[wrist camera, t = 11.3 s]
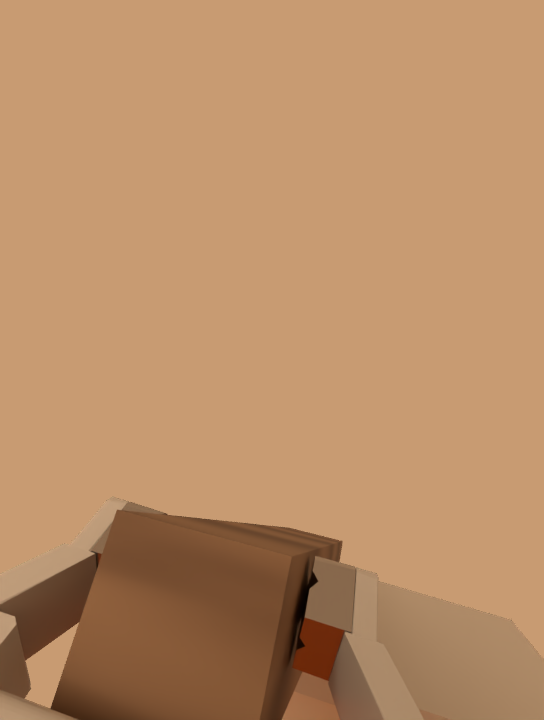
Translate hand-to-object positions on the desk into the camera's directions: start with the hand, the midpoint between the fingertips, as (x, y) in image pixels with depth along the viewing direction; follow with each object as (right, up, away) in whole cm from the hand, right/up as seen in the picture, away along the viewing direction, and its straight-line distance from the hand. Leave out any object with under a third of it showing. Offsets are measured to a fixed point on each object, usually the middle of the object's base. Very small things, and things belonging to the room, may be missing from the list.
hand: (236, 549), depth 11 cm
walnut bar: (+1, -6, +6) cm, 8 cm away
